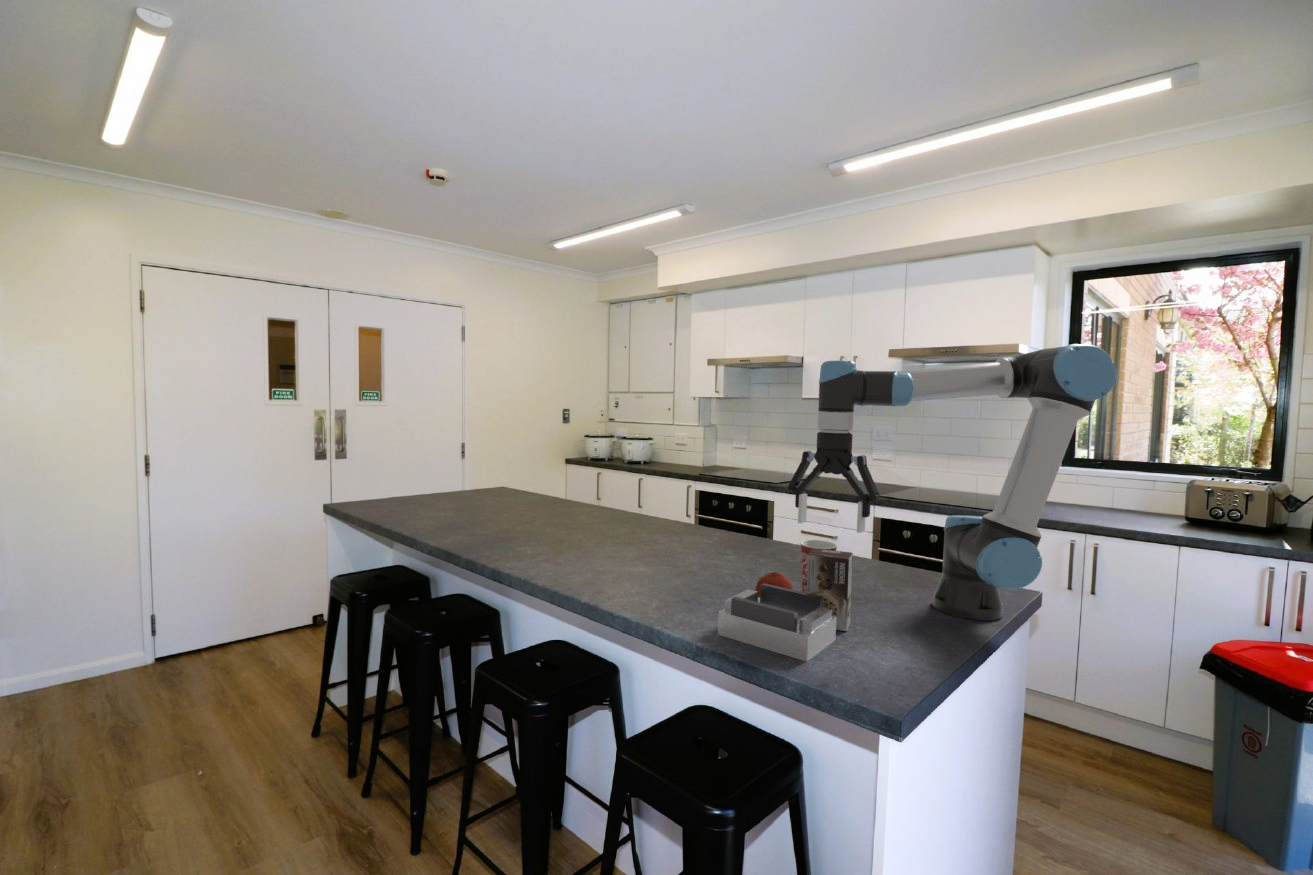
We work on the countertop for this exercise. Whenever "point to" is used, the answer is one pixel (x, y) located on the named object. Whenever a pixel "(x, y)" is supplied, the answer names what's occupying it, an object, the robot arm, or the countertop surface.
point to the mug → (805, 550)
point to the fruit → (773, 581)
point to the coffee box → (831, 582)
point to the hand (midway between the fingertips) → (830, 527)
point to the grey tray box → (779, 621)
